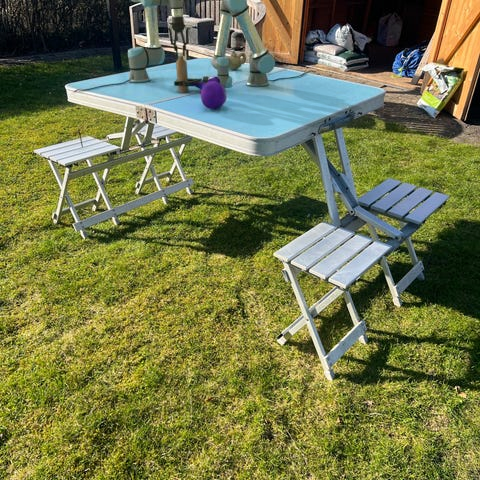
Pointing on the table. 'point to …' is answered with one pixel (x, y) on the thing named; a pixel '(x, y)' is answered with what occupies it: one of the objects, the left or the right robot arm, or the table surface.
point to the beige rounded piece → (236, 60)
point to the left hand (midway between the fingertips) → (180, 56)
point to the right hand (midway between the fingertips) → (175, 82)
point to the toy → (211, 93)
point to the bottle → (182, 74)
